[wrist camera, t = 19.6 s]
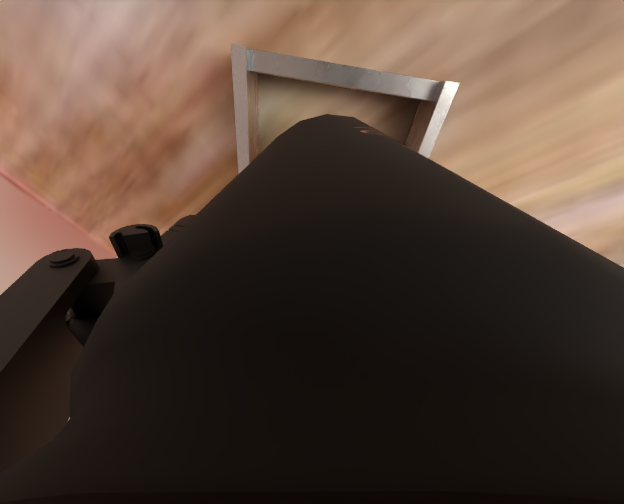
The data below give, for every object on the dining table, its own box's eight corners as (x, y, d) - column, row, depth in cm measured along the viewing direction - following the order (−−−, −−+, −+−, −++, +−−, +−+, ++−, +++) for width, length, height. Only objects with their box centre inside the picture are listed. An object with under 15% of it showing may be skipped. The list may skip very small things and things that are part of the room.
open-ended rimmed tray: (245, 52, 18) (230, 43, 15) (437, 85, 18) (459, 83, 15) (251, 253, 29) (244, 270, 26) (369, 268, 30) (375, 286, 27)
